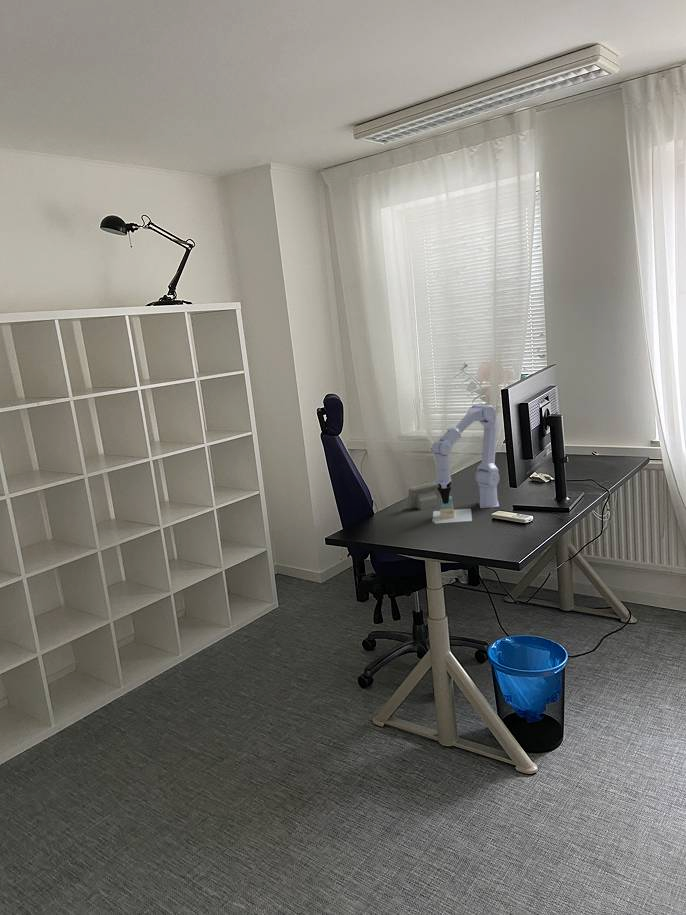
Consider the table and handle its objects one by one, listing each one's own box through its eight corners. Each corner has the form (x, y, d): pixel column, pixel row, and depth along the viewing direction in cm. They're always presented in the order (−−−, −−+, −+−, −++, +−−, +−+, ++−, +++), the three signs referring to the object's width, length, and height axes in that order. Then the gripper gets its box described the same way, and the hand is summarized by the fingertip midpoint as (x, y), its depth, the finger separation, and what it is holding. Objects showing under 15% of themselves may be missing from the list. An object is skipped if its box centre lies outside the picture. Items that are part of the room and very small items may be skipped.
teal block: (441, 505, 299) (440, 496, 298) (452, 505, 298) (451, 495, 297) (441, 508, 294) (440, 499, 294) (452, 508, 294) (451, 498, 293)
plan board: (433, 512, 307) (433, 511, 307) (470, 509, 304) (470, 508, 304) (432, 524, 289) (432, 523, 289) (472, 521, 287) (472, 520, 286)
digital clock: (439, 502, 322) (436, 479, 320) (446, 506, 313) (443, 483, 311) (404, 508, 319) (402, 485, 317) (411, 512, 310) (408, 489, 308)
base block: (440, 514, 300) (439, 505, 299) (453, 513, 299) (453, 504, 298) (440, 518, 295) (439, 509, 294) (453, 517, 294) (453, 508, 293)
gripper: (433, 466, 301) (436, 497, 303) (432, 474, 287) (435, 506, 289) (450, 464, 300) (453, 496, 302) (450, 472, 286) (453, 505, 288)
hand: (445, 501), depth 296 cm, fingers open, 7 cm apart
